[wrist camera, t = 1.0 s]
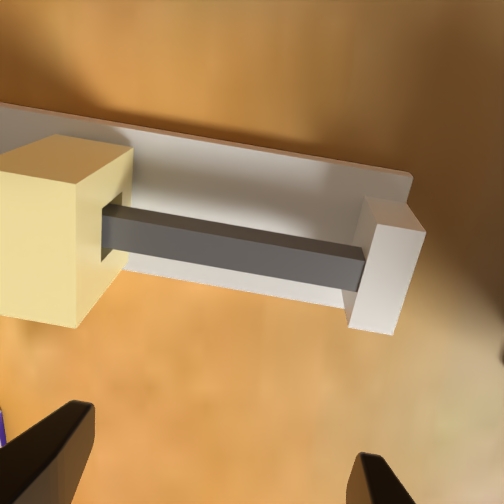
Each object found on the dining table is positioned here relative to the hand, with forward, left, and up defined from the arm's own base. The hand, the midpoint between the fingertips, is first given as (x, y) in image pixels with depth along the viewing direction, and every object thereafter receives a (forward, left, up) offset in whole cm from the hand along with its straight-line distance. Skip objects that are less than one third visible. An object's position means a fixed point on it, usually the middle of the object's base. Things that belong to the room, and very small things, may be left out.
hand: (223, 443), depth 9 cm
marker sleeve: (+7, 0, -11) cm, 13 cm away
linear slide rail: (+6, 0, -12) cm, 13 cm away
